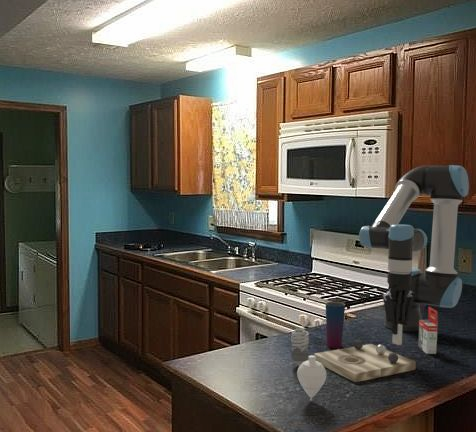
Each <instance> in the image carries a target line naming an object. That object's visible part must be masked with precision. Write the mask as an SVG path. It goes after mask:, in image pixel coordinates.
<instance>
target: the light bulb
mask: <svg viewBox="0 0 476 432" xmlns="http://www.w3.org/2000/svg"><path fill="white" fill-rule="evenodd" d="M290 335H291V336H290V338H291V339H290V341H291V346H292V349H290V353H291V360H292V361H295V365H296V366H297V367H299V366H300V365H301V364H302V363H303V362H305V361H308V360H309V350H308V347H309V343H310V336H309V335H310V333H309V332H308V331H307V330H305V329H303V328H295V331H292V332H291V334H290Z"/></svg>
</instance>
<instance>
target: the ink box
mask: <svg viewBox="0 0 476 432" xmlns="http://www.w3.org/2000/svg"><path fill="white" fill-rule="evenodd" d="M427 309H428V312H427V314H428V316H427V317H428V319H422V320H419V331H418V339H417V340H418V341H417V347H418V348H419V349H420V350H421V351H423V353H424V354H426V355H436V354H437V346H438V345H437V344H438V343H437V341H438V328H439V327H438V325H439V323H438V321H439V311H437V310H436V309H434V308H432V307H431V306H428V308H427Z"/></svg>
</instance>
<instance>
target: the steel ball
mask: <svg viewBox="0 0 476 432" xmlns="http://www.w3.org/2000/svg"><path fill="white" fill-rule="evenodd" d="M376 346H377V347H376V352H377V353H378V354H380V355H383V354H385V352H386V350H387V348H386V346H385V345H383V344H377V345H376Z"/></svg>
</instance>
